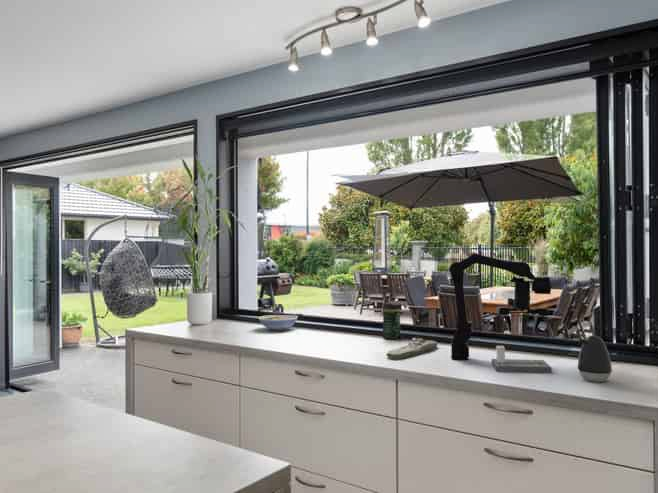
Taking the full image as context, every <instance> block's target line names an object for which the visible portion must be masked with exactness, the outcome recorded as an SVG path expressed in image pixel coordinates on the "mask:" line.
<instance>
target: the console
mask: <svg viewBox="0 0 658 493" xmlns="http://www.w3.org/2000/svg"><path fill="white" fill-rule="evenodd" d="M491 365H492V366H493V369H494V370H495V372H496V373H497V372H505V373H506V372H507V373H508V372H509V373H538V374H539V373H541V374H551V373H552V366H550V364H548V363H547V362H546V361H545V360H544V359H516V358H515V359H514V358H513V359H510V358H509V359H508V358H505V363H498V362H497V358H491Z"/></svg>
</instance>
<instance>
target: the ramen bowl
mask: <svg viewBox="0 0 658 493" xmlns="http://www.w3.org/2000/svg"><path fill="white" fill-rule="evenodd" d="M299 316H303V313H292V314H291V313H286V314H285V313H282V314H265V315H260V316H258V320H259V322H260V323H261V324H262V325H263V326H264V328H267V329H270V330H271V331H276V332H278V331H285V330H287V329H289V328H291V327H292V326H293V325H294V324H295V323H296V321H297V320H298V317H299Z"/></svg>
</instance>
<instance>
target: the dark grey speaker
mask: <svg viewBox="0 0 658 493" xmlns="http://www.w3.org/2000/svg"><path fill="white" fill-rule="evenodd" d="M578 341H579V343H582V345H581V348H580V350H579V355H578V359H577V360H578V361H577V369H578V371H579V374H580V377H582V378H583V379H584V380H585V381H587V382H592V383H603V382H607V380H609V378H610V377H611V373H612V372H613V368H612V360H611V358H610V354H609V351H608V348H607V346H606V344H605V342H604V340H603V339H602V338H601V337H600V336H598V335H588V336H587V337H586V338H585V339H584V338H581V337H579V338H578Z"/></svg>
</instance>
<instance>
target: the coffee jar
mask: <svg viewBox="0 0 658 493" xmlns="http://www.w3.org/2000/svg"><path fill="white" fill-rule="evenodd" d="M382 314H383V315H382V316H383V317H382V320H383V322H382V338H383V339H386V340H390V339H391V340H396V339H399V338H398V337H399V333H400V331H402V330H401V303H400V302H399V301H388V302H387V301H386V302H384V303H383V304H382Z"/></svg>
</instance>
